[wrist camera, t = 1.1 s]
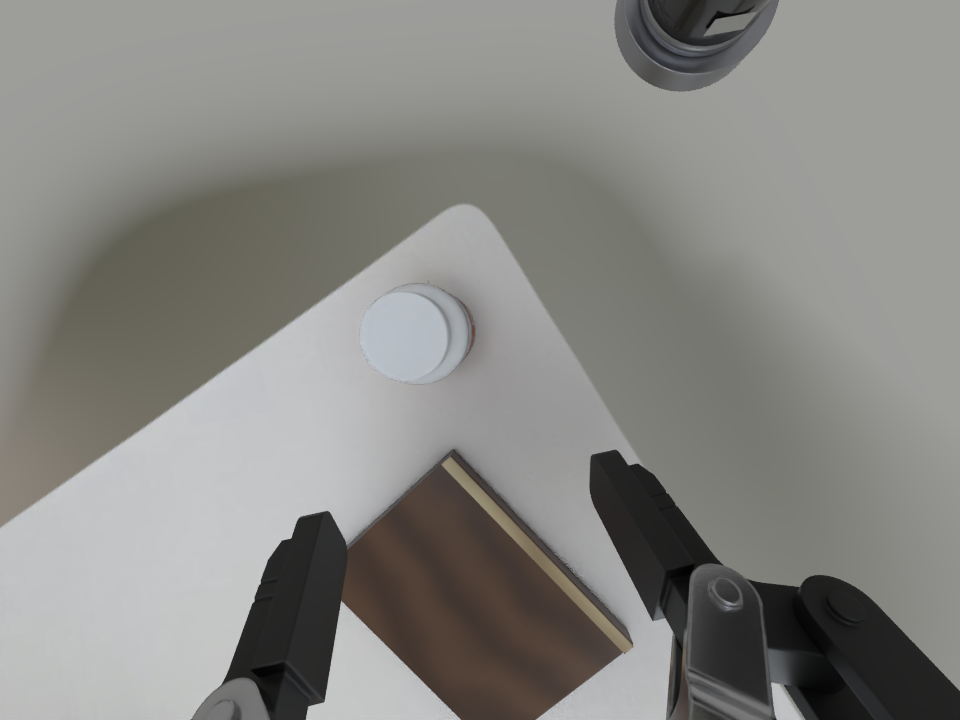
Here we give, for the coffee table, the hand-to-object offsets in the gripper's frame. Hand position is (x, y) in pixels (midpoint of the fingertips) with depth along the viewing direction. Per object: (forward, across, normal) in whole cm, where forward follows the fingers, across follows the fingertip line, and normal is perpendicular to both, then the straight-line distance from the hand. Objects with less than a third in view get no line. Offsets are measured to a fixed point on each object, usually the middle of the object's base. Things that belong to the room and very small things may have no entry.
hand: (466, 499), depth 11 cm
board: (+10, +2, +25) cm, 27 cm away
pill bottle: (+20, 0, +4) cm, 20 cm away
